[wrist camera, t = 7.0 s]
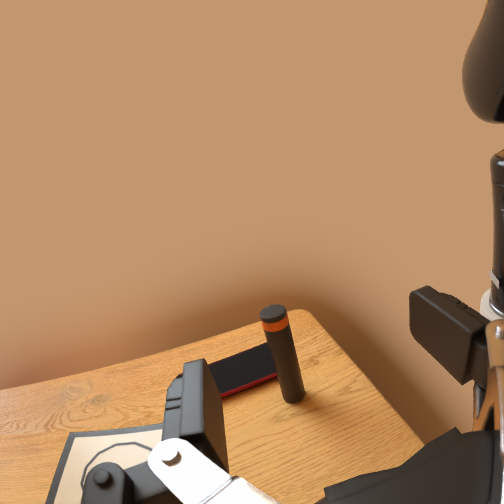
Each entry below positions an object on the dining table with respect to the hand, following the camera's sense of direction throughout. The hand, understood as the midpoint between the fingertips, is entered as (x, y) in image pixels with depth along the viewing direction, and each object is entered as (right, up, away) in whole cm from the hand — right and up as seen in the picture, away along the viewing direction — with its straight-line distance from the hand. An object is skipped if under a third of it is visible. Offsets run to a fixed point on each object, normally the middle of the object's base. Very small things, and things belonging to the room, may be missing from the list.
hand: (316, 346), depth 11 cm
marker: (+3, -13, +23) cm, 27 cm away
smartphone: (-5, -14, +29) cm, 33 cm away
